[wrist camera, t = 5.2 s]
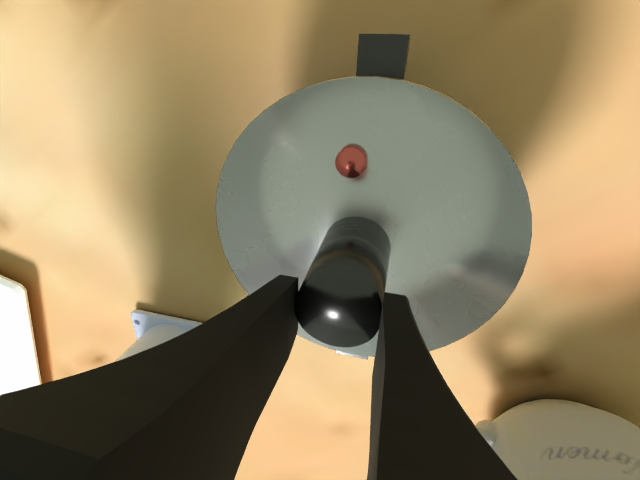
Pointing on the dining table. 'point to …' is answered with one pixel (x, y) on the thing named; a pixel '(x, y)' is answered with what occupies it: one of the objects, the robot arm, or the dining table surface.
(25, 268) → the dining table surface
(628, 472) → the teacup
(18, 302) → the plate
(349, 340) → the lid
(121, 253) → the dining table surface
